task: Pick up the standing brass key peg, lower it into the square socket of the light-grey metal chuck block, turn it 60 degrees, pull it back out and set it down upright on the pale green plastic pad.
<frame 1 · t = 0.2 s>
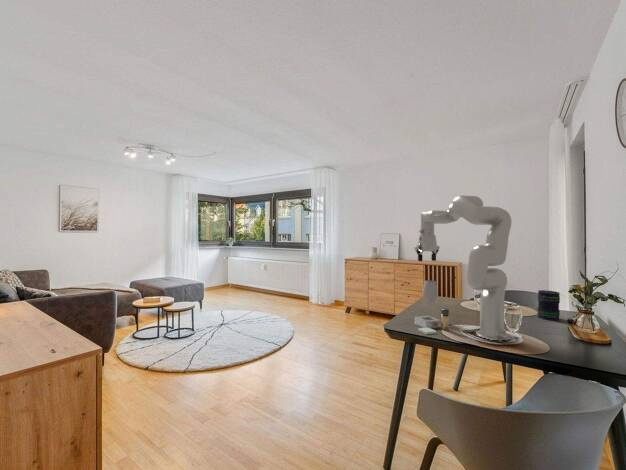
hand: (427, 260, 181), 31 cm above the table, fingers open, 9 cm apart
chuck block: (427, 325, 156), on the table
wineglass: (429, 319, 167), on the table
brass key: (444, 329, 149), on the table
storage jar: (548, 318, 171), on the table
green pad: (427, 331, 145), on the table
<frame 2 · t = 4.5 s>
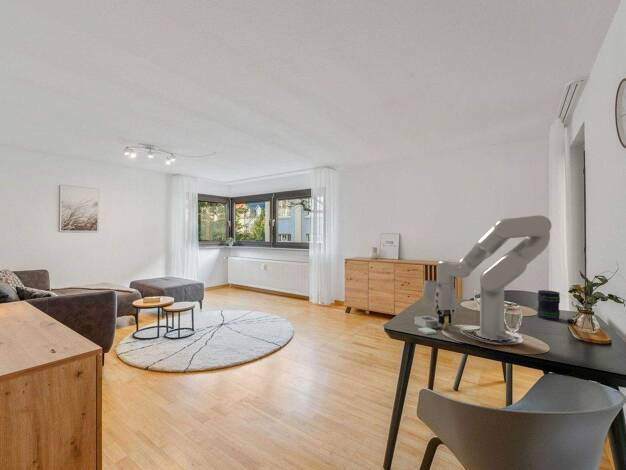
hand: (444, 322, 149), 3 cm above the table, fingers closed on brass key, 3 cm apart
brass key: (444, 329, 149), on the table, touching gripper
everything else where it was.
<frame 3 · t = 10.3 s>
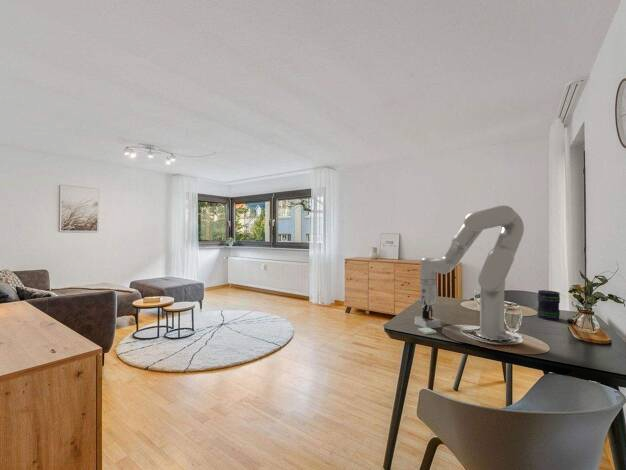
hand: (427, 317, 156), 4 cm above the table, fingers closed on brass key, 3 cm apart
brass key: (427, 323, 156), point 1 cm above the table, touching gripper
everything else where it was.
when the fingers open (5 cm above the table, at t = 16.4 s): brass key stays where it is, resting on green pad.
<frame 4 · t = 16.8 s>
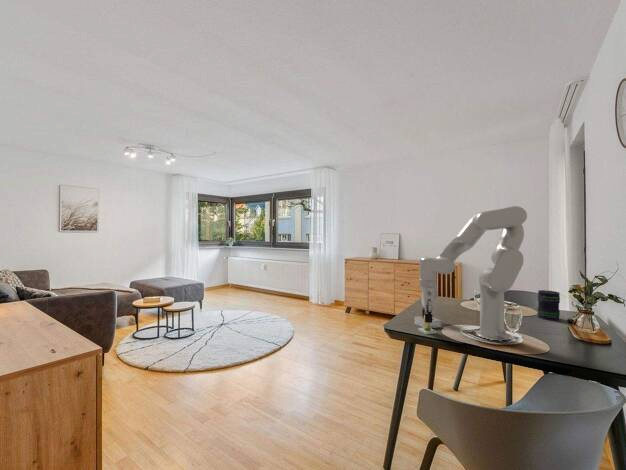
hand: (427, 319, 145), 6 cm above the table, fingers open, 7 cm apart
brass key: (426, 329, 145), point 1 cm above the table, touching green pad
everything else where it was.
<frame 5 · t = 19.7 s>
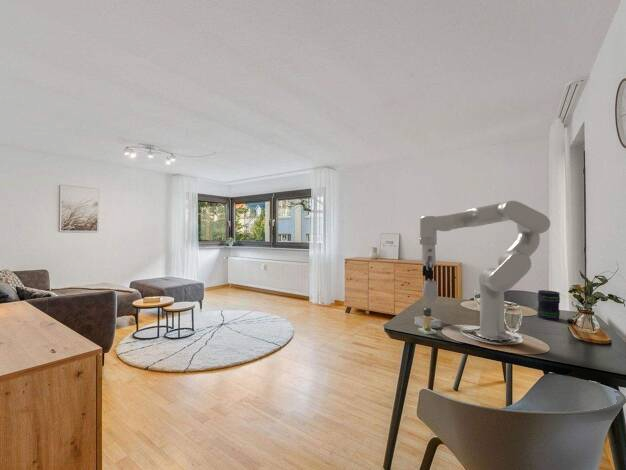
hand: (427, 277, 145), 26 cm above the table, fingers open, 9 cm apart
nothing on the table moved.
at the end: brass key 0.0 cm off-centre on the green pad, point 1.0 cm above the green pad's base; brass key tilted 2°; the gripper is holding nothing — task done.
